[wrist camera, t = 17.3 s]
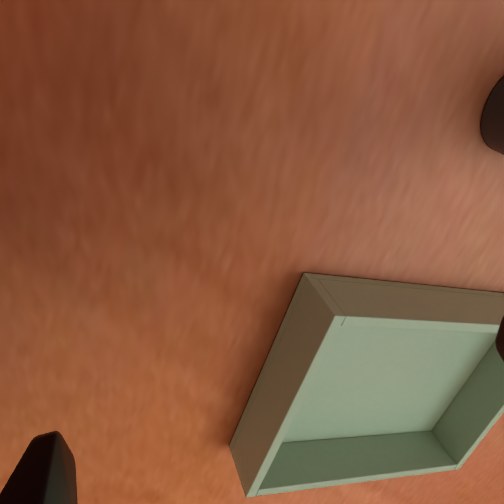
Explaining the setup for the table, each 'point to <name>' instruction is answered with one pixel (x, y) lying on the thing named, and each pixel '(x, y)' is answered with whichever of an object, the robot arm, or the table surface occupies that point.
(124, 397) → the table surface
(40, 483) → the robot arm
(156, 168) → the table surface
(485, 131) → the red-banded dark cylinder
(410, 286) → the box
